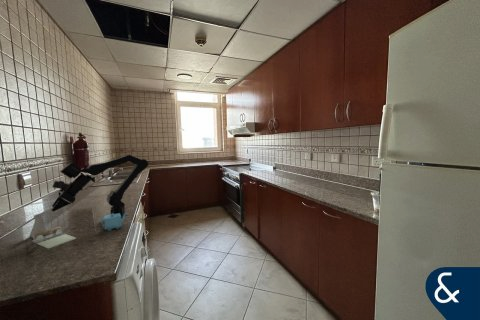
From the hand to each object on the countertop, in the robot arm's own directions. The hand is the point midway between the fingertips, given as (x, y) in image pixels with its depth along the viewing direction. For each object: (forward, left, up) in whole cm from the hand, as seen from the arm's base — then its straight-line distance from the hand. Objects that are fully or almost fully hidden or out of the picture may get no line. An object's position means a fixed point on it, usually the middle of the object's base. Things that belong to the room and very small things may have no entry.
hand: (52, 208), depth 101 cm
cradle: (-4, +7, -12) cm, 14 cm away
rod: (-4, +7, -9) cm, 13 cm away
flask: (+4, +3, -12) cm, 13 cm away
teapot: (-29, -2, -12) cm, 31 cm away
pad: (-11, +11, -12) cm, 20 cm away
